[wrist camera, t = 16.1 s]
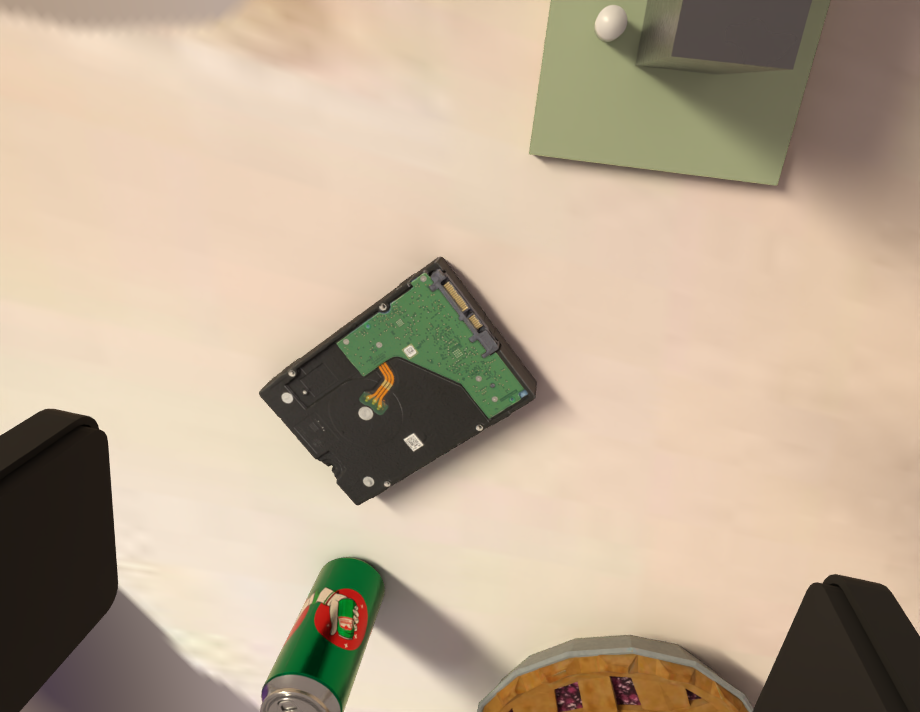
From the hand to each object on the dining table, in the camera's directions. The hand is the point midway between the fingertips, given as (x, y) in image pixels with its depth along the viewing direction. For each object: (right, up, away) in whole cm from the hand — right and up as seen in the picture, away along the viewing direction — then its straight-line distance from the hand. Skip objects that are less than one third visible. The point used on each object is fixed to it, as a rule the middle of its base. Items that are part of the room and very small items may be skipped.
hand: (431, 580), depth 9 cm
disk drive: (-3, +2, +35) cm, 35 cm away
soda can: (-8, -14, +41) cm, 44 cm away
